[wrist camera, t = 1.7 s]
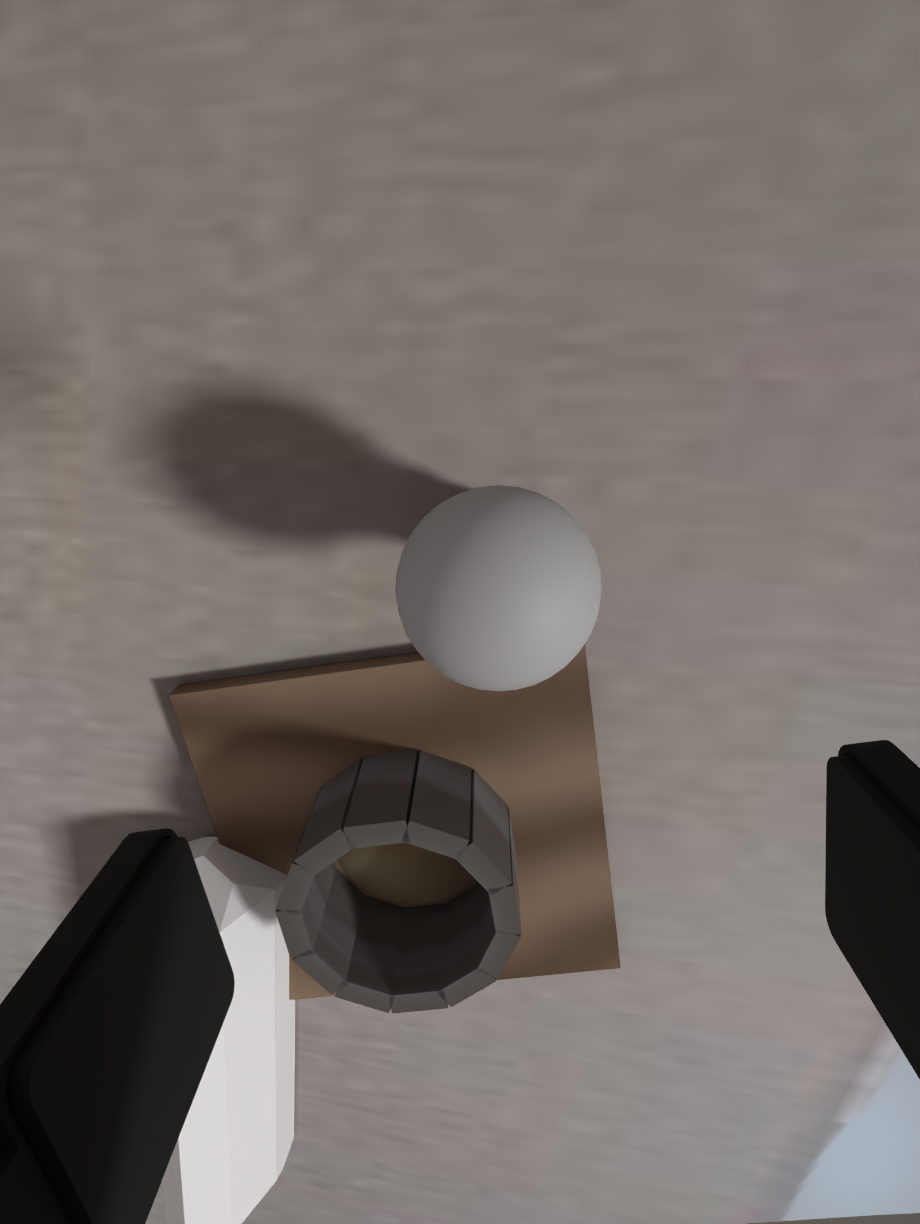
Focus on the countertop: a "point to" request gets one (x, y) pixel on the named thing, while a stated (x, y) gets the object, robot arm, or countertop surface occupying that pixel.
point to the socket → (412, 823)
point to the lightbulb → (498, 588)
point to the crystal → (239, 1055)
